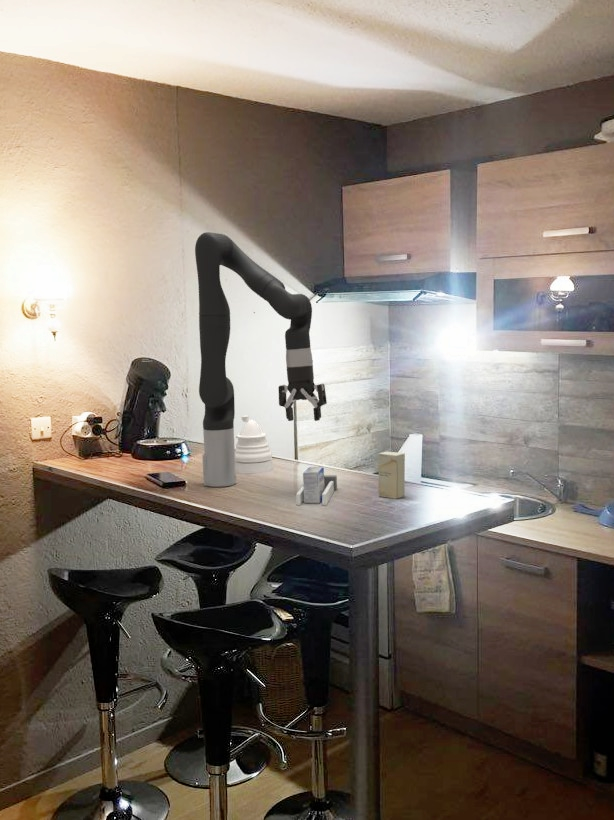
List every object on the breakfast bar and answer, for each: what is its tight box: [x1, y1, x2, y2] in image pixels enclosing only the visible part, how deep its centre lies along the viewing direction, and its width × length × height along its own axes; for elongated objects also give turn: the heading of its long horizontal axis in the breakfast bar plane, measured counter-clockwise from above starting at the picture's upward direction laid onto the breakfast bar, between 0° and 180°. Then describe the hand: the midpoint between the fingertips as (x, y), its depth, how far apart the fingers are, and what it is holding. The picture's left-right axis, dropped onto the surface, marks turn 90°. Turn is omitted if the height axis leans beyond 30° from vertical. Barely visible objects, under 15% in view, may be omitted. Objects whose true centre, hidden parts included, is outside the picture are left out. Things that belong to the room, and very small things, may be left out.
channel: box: [296, 474, 338, 506], centre depth 236 cm, size 9×20×4 cm, turn 171°
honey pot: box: [235, 415, 274, 475], centre depth 278 cm, size 13×13×18 cm
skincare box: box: [378, 451, 406, 500], centre depth 232 cm, size 6×4×12 cm
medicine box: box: [302, 466, 325, 504], centre depth 231 cm, size 8×4×9 cm, turn 168°
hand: (304, 420), depth 242 cm, fingers open, 8 cm apart
